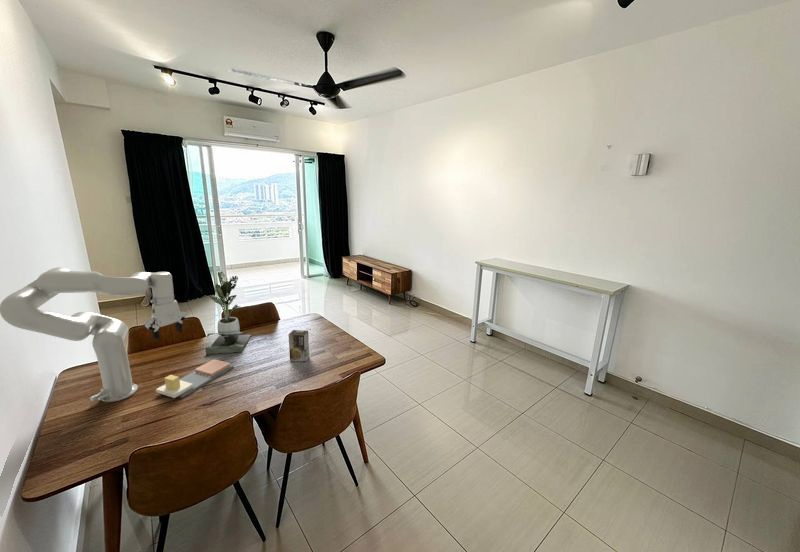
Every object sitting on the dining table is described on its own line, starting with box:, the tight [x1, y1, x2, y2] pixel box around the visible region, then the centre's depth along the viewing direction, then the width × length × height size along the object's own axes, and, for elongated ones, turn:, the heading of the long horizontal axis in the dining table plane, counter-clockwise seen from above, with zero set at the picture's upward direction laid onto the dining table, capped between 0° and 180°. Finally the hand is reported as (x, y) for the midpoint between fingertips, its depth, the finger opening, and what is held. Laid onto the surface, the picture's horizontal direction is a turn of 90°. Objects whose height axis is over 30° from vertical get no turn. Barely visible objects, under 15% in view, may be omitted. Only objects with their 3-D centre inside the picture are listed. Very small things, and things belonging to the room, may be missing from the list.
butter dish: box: [155, 374, 194, 399], centre depth 142 cm, size 9×11×7 cm
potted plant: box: [205, 271, 252, 355], centre depth 184 cm, size 22×19×45 cm
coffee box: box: [287, 329, 310, 362], centre depth 175 cm, size 9×6×16 cm
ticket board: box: [177, 358, 234, 399], centre depth 154 cm, size 28×13×3 cm, turn 161°
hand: (168, 335), depth 144 cm, fingers open, 9 cm apart
